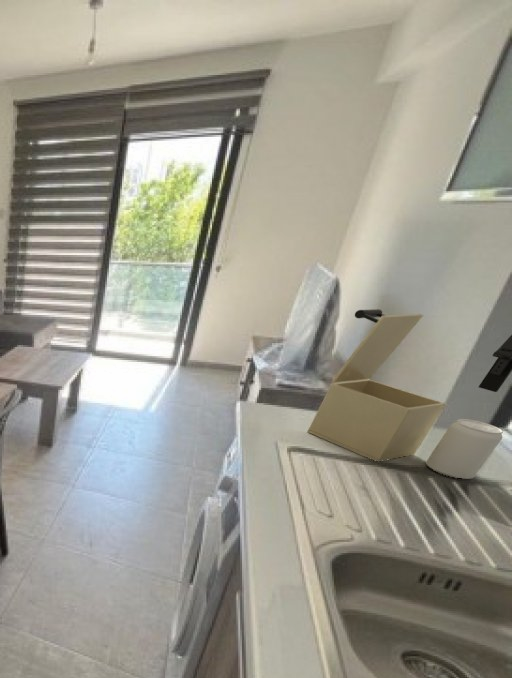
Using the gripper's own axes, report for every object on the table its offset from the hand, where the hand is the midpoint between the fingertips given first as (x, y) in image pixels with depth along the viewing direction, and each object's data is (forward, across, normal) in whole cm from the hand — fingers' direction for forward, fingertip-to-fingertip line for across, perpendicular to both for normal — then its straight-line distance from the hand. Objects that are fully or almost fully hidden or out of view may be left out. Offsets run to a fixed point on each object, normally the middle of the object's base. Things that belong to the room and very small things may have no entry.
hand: (505, 387), depth 102 cm
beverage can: (+21, 0, 0) cm, 21 cm away
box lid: (-2, +5, -22) cm, 23 cm away
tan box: (+21, +5, -16) cm, 27 cm away
